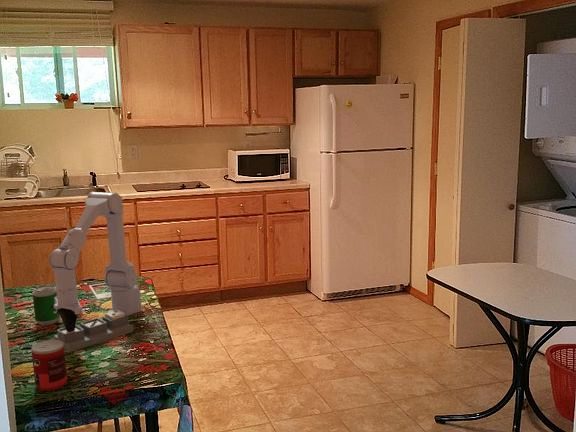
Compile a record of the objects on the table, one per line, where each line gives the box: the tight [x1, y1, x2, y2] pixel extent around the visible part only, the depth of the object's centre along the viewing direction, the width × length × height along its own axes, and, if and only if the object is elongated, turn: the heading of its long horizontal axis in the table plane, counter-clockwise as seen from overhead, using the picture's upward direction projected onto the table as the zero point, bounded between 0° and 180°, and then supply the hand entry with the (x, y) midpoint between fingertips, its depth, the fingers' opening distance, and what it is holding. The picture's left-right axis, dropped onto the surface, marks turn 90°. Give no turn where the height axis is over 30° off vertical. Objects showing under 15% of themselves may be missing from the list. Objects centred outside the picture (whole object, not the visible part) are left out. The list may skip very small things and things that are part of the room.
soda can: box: [32, 284, 60, 326], centre depth 197 cm, size 8×8×12 cm
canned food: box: [31, 339, 68, 392], centre depth 154 cm, size 8×8×11 cm
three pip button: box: [85, 321, 102, 327], centre depth 185 cm, size 4×4×2 cm
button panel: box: [53, 315, 134, 353], centre depth 185 cm, size 21×11×5 cm, turn 135°
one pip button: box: [61, 328, 79, 334], centre depth 180 cm, size 4×4×2 cm
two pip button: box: [104, 310, 125, 320], centre depth 190 cm, size 4×4×2 cm
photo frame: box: [88, 282, 112, 301], centre depth 230 cm, size 15×1×18 cm
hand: (70, 330), depth 180 cm, fingers closed
